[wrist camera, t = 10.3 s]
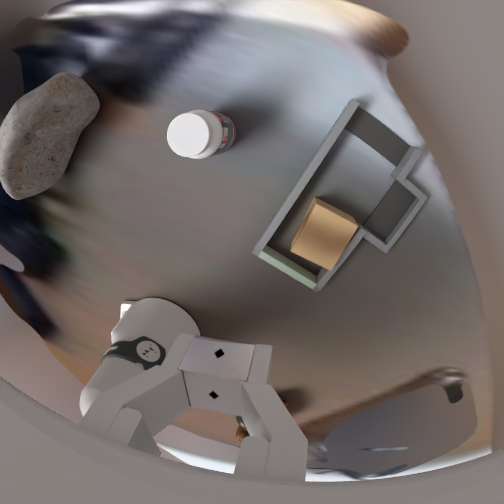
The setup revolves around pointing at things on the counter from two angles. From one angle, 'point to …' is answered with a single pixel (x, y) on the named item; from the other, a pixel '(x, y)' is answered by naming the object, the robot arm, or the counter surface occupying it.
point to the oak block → (323, 234)
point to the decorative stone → (44, 134)
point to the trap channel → (384, 216)
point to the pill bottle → (200, 134)
